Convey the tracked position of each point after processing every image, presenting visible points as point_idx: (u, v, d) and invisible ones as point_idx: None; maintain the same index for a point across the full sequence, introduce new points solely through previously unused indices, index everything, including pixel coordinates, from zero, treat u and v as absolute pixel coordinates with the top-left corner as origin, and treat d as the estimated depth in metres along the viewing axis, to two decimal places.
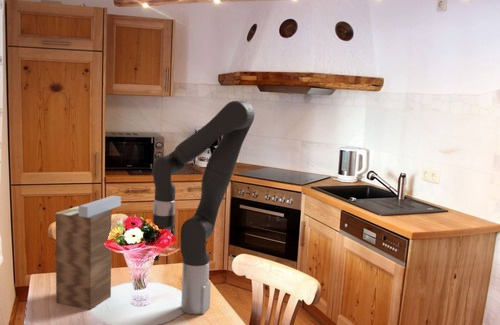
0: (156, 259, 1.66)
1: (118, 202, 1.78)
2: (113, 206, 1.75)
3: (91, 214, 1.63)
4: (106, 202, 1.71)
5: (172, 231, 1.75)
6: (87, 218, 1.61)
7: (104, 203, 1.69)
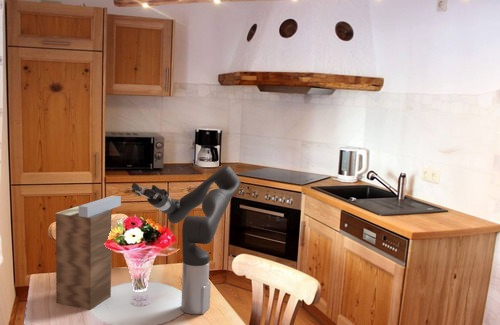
0: (154, 189, 1.87)
1: (118, 202, 1.78)
2: (113, 206, 1.75)
3: (91, 214, 1.63)
4: (106, 202, 1.71)
5: (138, 193, 1.97)
6: (87, 218, 1.61)
7: (104, 203, 1.69)
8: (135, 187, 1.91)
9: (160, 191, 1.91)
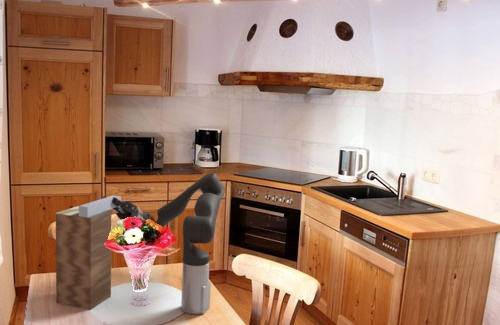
0: (115, 202, 1.74)
1: None
2: (113, 206, 1.75)
3: (91, 214, 1.63)
4: (106, 202, 1.71)
5: None
6: (87, 218, 1.61)
7: (104, 203, 1.69)
8: None
9: (122, 204, 1.77)
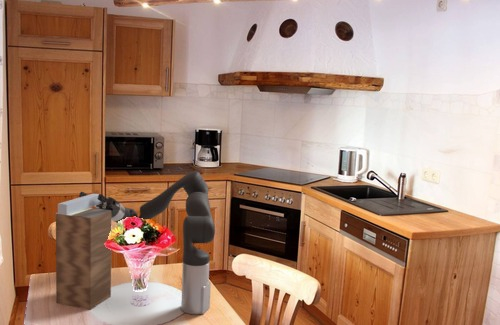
0: (101, 199, 1.76)
1: None
2: (93, 204, 1.77)
3: (70, 212, 1.65)
4: (86, 200, 1.72)
5: None
6: (87, 218, 1.61)
7: (84, 201, 1.71)
8: None
9: (108, 200, 1.79)
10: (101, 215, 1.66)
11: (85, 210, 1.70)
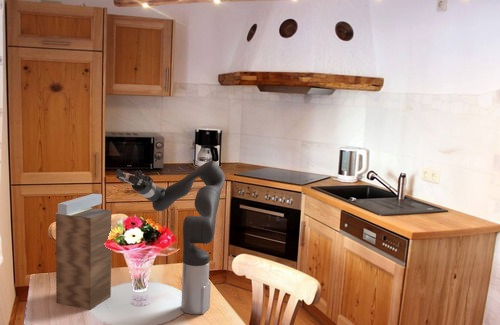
0: (138, 175, 1.89)
1: (99, 200, 1.80)
2: (93, 204, 1.77)
3: (70, 212, 1.65)
4: (86, 200, 1.72)
5: (122, 179, 1.99)
6: (87, 218, 1.61)
7: (84, 201, 1.71)
8: (119, 173, 1.93)
9: (144, 177, 1.92)
10: (101, 215, 1.66)
11: (85, 210, 1.70)
